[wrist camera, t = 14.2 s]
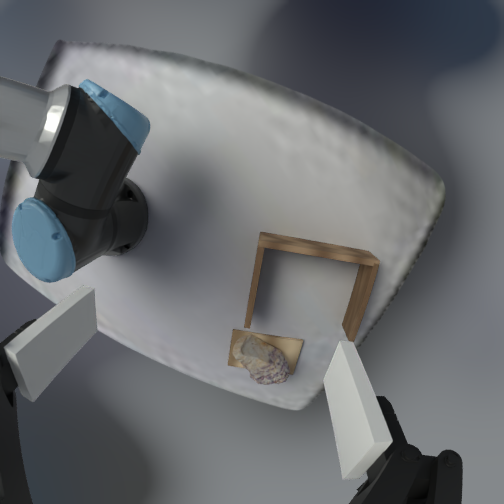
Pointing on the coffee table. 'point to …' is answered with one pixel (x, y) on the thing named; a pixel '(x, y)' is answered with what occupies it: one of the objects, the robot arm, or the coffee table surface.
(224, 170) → the coffee table surface
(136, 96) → the coffee table surface
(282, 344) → the mat
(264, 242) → the brown open u-shaped frame
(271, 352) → the mineral specimen
